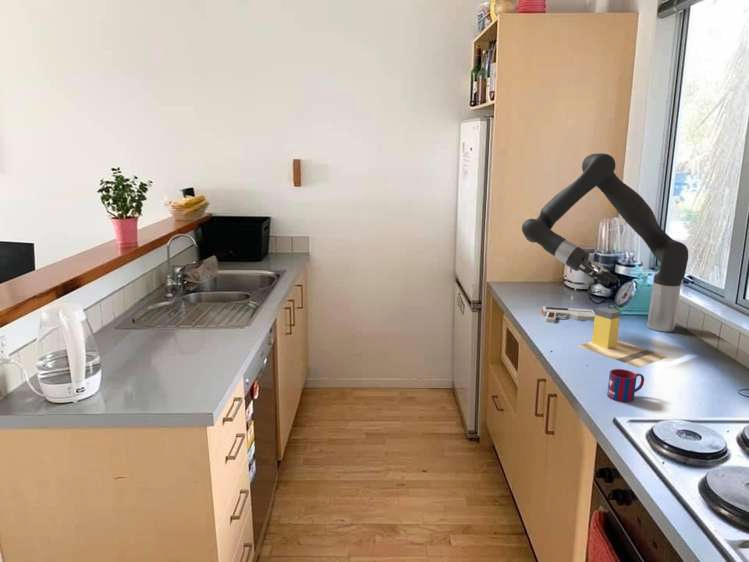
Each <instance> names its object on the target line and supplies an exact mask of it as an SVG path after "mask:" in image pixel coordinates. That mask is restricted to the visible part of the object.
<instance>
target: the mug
mask: <svg viewBox="0 0 749 562" xmlns="http://www.w3.org/2000/svg"><path fill="white" fill-rule="evenodd" d="M637 377H640V383H639V385H638V386H637V387H636V385H637ZM644 383H645V376H644V375H643V374H641V373H635V372H633V371H632V370H628V369H622V368H614V369H611V370H609V377H608V386H607V393H606V395H607V397H608V398H609V399H611V400H613V401H616V402H620V403H630V402H633V401H634V399H635V393H637V392H638V391H640V390H641V389H642V388H643V387H644V385H645V384H644Z"/></svg>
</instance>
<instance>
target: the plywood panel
mask: <svg viewBox="0 0 749 562" xmlns="http://www.w3.org/2000/svg"><path fill="white" fill-rule="evenodd" d="M577 347H579V348H581V349H584V350H587V351H590V352H594V353H596V354H598V355H602V356H604V357H608V358H610V359H612V360H616V361H619V362H622V363H624V364H627V365H630V366H632V367H636V368H641V367H643V366H646V365H649V364H652V363H656V362H658V361H661V360H663V359H667V358H669V356H668V355H665V354H661V353H658V352H655V351H652V350H649V349H645V348H643V347H640V346H636V345H634V344H631V343H629V342H625V341H621V340H618V339H617V345H616V346H614V347H611V348H608V349H607V348H604V347H601V346H598V345H595V344H592V341H588V342H586V343H582V344H578V345H577Z"/></svg>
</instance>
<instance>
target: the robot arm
mask: <svg viewBox="0 0 749 562" xmlns="http://www.w3.org/2000/svg"><path fill="white" fill-rule="evenodd" d="M581 169H582V174H581V175H580V176H579V177H578V178H577V179H576V180H574V182H572V183H570V184H569V185H568V186H566V187H565V188H564V189H562V190H561V191H560V192H557V194H555V195H554V196H553V197H552V198H551V199H550V200H549V201H548V202H547V203H546V204H545V205H544V206H543V207H542V209H541V210H540V214H539V216H538V217H537V218H529V219H526V220H525V221H524V222H523V223H522V226H521V231H522V234H523V236H524V237H525V239H526V240H527V241H528V242H530V243H537V244H538V245H540V246H541V247H542V248H543V250H545V252H547V253H548V254H550V255H551V256H554V257H555V258H556V259H557V260H558V261H560V262H561V263H562V264H564V265H566V266H567V267H568V268H570V269H572V270H573V271H575V272H579V271H580V272H583V273H584V274H586V275H587V276H589V277H590V278H591V279H597V280H599V281H600V282H601V283H603V284H605V285H608V284H609V283H610V282H611V283H613V284H615V283H616V282H617V280H619V278H618V276H616V275H614V274H612V273H611V272H609V268H606V267H604V266H602V264H600V263H598V262H596V260H595V261H594V260H592V261H591V260H589V259H590V252H588V251H587V250H585V249H583V248H582V247H580V246H579V245H577V244H575V243H574V242H572V241H569V240H568V239H566V238H565V237H563V236H561V235H560V234H557V232H555V231H553V230H552V228H553V227H554V225H555V224H556V223H557V222H558V221H559V220H560V219H561V218H562V217H563V216H564V215H565V214H567V212H568V211H569V210H571V208H573V206H575V205H576V204H577V203H578V202H579V201H580V200H582V198H583V197H585V196H586V195H587V194H588V193H589V192H591V191H592V190H593V189H595V188H596V187H597V188H598V189H599V190H600V192H602V193H603V195H604V196H605V197H606V199H607V200H608V201H609V203H610V204H611V205H612V206H613V208H614V209H615V210H616V211H617V213H618V214H619V216H620V217H621V218H622V219H623V220H624V221H625V222H626V223H627V224H628V226H630V227H631V229H632V230H633V232H635V233H636V234H637V235H638V236H639V237H641V239H642V240H643V242H644V243H645V244H646V246H647V247H648V249H649V250H650V252H651V253H652V255H653V256H654V258H655V259H656V260H657V261H659V262H660V266H659V271H658V272H657V273H655V274H654V275H653V279H652V280H653V281H652V288H651V296H650V303H649V308H648V309H649V310H648V318H647V323H646V326H647V328H648V329H650V330H653V331H656V332H657V331H659V332H673V331H675V328H676V323H677V316H678V309H679V299H680V296H681V295H680V293H681V286H682V282H683V279H685V275H686V271H687V267H688V261H689V248H688V247H687V245H686V244H684V243H682V242H681V241H677V240H675V239H673V238H672V237H670V235H668V234H667V233H666V231H664V230H663V228H661V226H660V225H659V223H658V221H657V218H656V215H655V214H654V211H653V210H652V208H651V207H650V205H649V204H648V203H647V202H646V200H645V199H644V198H643V197H642V196H641V195H640V194H639V193H638V192H636V190H634V189H633V188H632V187H630V186H628V185H627V184H626V183H625V182H623V181H622V180H621V179H620V178H619V177H618V176H617V174H616V173H615V169H616V161H615V158H614V157H613V156H612V155H611V154H608V153H601V152H600V153H599V152H598V153H591V154H589V155H587V156H586V157H584V159H583V161H582V164H581Z"/></svg>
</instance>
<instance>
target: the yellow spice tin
mask: <svg viewBox="0 0 749 562" xmlns="http://www.w3.org/2000/svg"><path fill="white" fill-rule="evenodd" d="M594 312H595V319H594V321H593V322H594V323H593V329H592V339H591V342H592V344H595V345H598V346H601V347H604V348H607V349H608V348H611V347H614V346H616V345H617V340H618V335H619V327H620V319H621V314H622V311H620V310H617V309H614V308H610V307H606V306H603V307H599V308H595V311H594Z"/></svg>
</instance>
